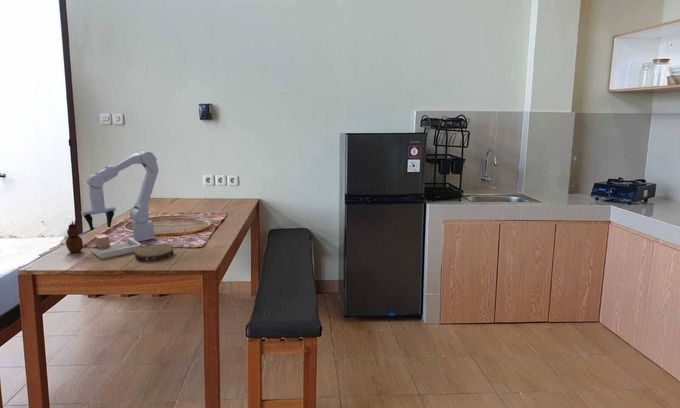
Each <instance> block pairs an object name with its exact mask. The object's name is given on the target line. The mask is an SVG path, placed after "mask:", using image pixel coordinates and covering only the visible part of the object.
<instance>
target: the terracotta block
mask: <svg viewBox="0 0 680 408" xmlns="http://www.w3.org/2000/svg"><path fill="white" fill-rule="evenodd" d="M93 237H94V239H93V240H94V246H95V245H96V246H95V247H97V249H100V248H105V247H110V246H111V244H110V243H111V242H110V236H109V235H106V234H105V233H103V234H101V233H100V234H96V235H94V236H93Z"/></svg>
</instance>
